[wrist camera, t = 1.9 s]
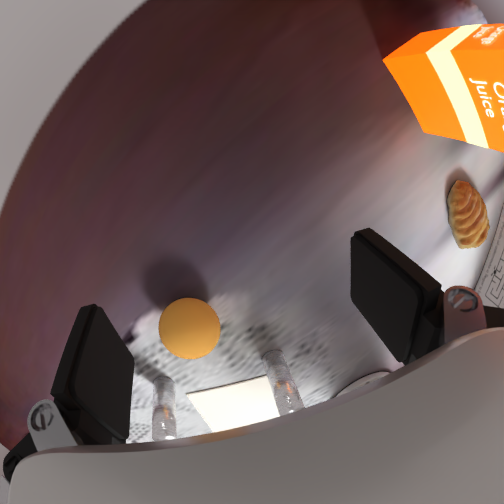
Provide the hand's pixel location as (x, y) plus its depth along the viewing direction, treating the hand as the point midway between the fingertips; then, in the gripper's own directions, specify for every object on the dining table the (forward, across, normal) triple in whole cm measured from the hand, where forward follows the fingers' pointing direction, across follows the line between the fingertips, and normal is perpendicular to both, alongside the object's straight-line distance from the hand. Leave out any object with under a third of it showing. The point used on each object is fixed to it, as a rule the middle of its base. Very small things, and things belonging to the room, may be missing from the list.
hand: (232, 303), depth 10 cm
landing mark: (+13, +4, +29) cm, 32 cm away
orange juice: (+14, -23, -8) cm, 28 cm away
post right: (+14, -2, +20) cm, 25 cm away
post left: (+14, +12, +20) cm, 27 cm away
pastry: (+14, -30, +9) cm, 34 cm away
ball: (+11, +5, +10) cm, 16 cm away
